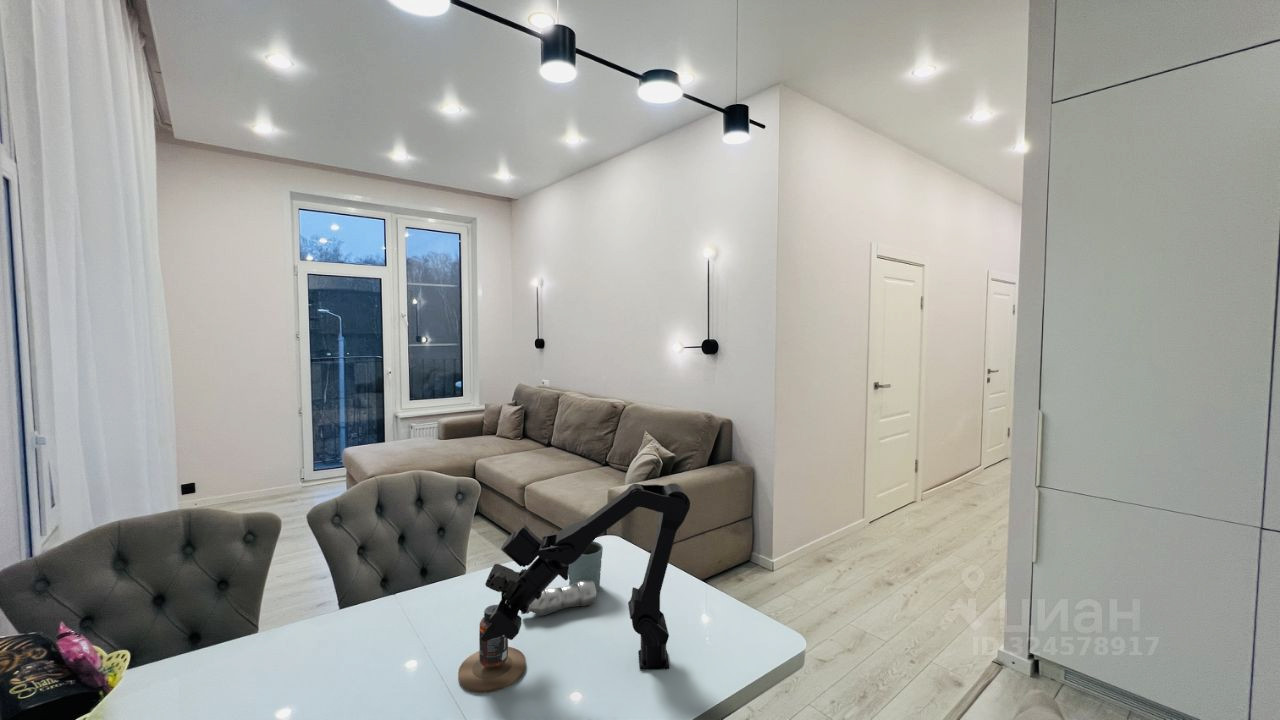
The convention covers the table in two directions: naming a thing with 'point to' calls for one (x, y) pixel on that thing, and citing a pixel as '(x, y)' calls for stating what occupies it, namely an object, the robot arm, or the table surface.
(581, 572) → the grey-green cup
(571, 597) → the plastic bottle
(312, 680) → the table surface
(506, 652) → the supplement bottle
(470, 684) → the disc
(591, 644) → the table surface
